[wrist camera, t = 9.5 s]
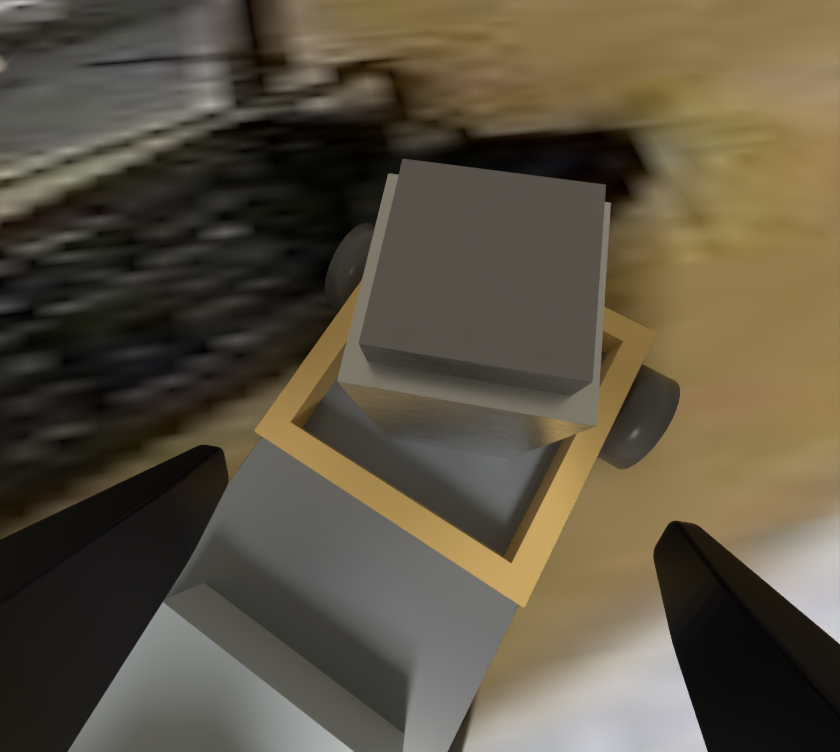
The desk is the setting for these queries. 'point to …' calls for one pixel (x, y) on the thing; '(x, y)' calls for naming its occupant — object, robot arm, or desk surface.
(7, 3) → the desk surface
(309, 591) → the truck
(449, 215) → the grey block
